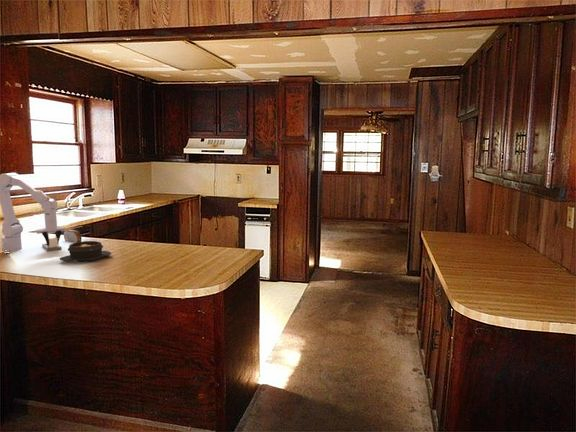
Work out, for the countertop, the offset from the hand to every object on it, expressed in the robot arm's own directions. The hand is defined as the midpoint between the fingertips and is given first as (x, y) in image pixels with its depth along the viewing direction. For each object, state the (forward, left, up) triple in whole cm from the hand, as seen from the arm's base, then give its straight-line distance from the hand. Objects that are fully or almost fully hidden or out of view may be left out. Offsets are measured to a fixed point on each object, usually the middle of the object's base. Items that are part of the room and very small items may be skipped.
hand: (52, 244), depth 243 cm
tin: (+14, +17, -4) cm, 23 cm away
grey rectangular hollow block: (0, +3, -4) cm, 5 cm away
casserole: (+10, -30, -4) cm, 31 cm away
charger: (0, 0, -2) cm, 2 cm away
